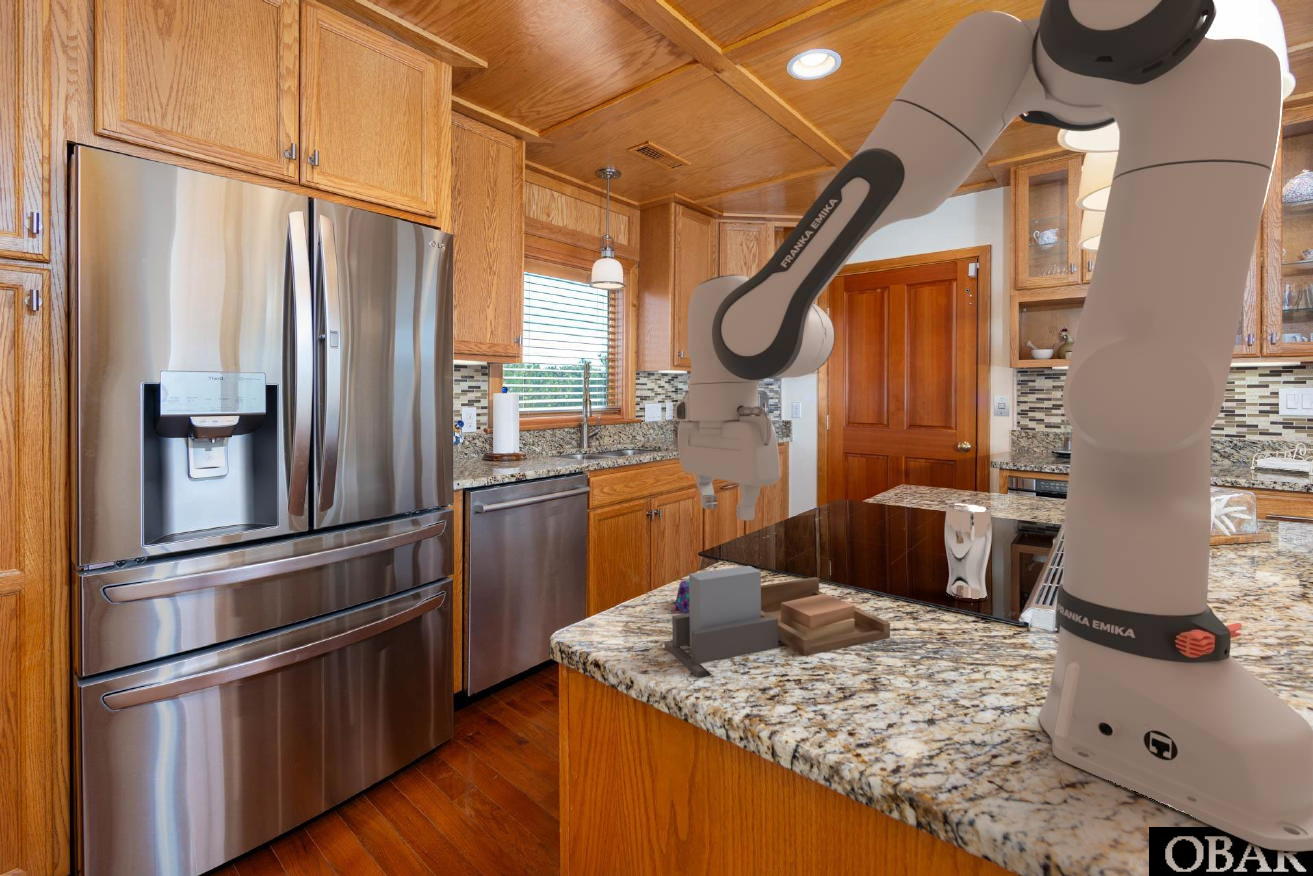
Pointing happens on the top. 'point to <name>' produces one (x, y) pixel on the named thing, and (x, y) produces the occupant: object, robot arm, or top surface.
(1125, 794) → the top surface
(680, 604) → the purple rounded dome
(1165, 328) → the robot arm
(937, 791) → the top surface
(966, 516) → the beer glass
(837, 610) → the offcut top
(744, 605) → the gray rectangular block
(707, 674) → the holder
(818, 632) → the offcut low
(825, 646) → the tray
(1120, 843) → the top surface
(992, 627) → the top surface
